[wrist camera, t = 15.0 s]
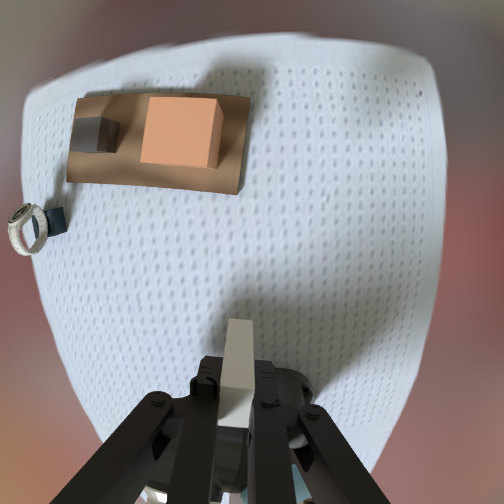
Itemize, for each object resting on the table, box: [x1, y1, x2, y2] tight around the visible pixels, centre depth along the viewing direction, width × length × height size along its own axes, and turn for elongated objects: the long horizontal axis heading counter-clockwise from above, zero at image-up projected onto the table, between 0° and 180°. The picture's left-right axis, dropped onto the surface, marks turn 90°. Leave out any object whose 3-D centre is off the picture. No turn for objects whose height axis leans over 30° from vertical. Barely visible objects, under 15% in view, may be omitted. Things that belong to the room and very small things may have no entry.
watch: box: [8, 203, 67, 255], centre depth 35 cm, size 6×8×11 cm
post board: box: [66, 93, 250, 195], centre depth 34 cm, size 14×28×8 cm, turn 83°
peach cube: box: [140, 97, 224, 169], centre depth 32 cm, size 8×8×9 cm
